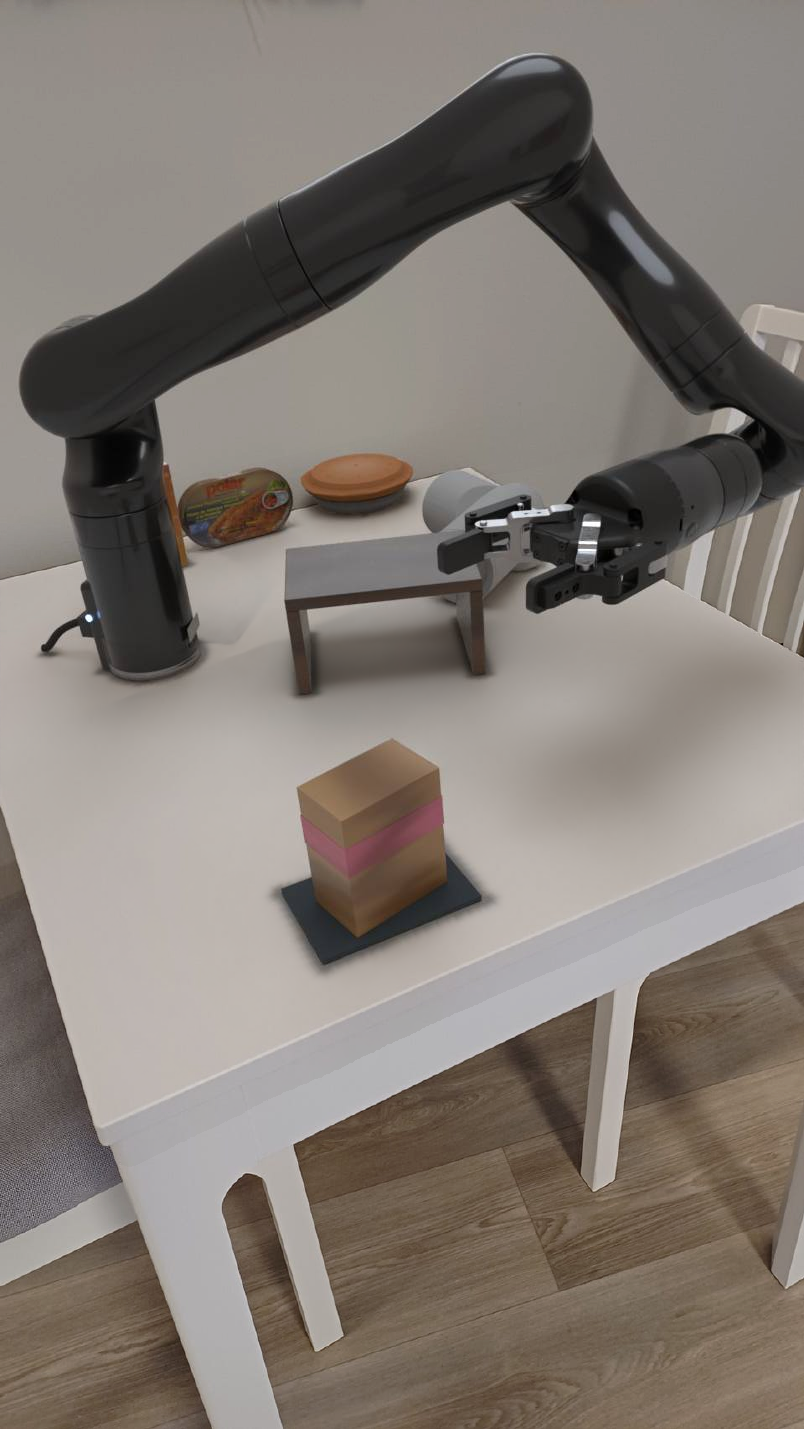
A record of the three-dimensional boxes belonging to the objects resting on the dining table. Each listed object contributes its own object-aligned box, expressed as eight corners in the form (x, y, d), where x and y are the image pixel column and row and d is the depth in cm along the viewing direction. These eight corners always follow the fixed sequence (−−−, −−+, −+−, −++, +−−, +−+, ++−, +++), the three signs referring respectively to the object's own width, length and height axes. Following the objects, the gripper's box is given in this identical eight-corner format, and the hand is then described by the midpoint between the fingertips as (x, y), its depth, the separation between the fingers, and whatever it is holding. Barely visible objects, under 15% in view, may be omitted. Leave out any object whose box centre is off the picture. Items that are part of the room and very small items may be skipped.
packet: (357, 939, 66) (340, 822, 61) (314, 900, 70) (295, 786, 64) (448, 881, 70) (440, 767, 65) (403, 848, 74) (392, 737, 68)
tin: (188, 555, 126) (175, 491, 121) (181, 547, 128) (168, 484, 124) (298, 526, 131) (289, 464, 127) (289, 519, 134) (280, 458, 129)
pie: (372, 473, 147) (369, 439, 144) (437, 498, 136) (435, 462, 133) (283, 501, 140) (278, 467, 137) (344, 530, 129) (340, 493, 126)
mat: (323, 964, 65) (322, 960, 65) (281, 892, 71) (280, 888, 71) (482, 899, 69) (481, 895, 69) (429, 836, 75) (429, 832, 75)
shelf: (486, 674, 95) (482, 578, 90) (299, 695, 95) (284, 600, 89) (468, 618, 105) (464, 529, 100) (299, 636, 105) (285, 548, 99)
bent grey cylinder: (598, 561, 111) (493, 512, 126) (584, 477, 105) (475, 436, 120) (473, 639, 107) (379, 579, 121) (451, 556, 100) (354, 503, 115)
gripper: (574, 439, 76) (410, 498, 67) (734, 481, 66) (564, 555, 58) (572, 532, 80) (417, 597, 71) (722, 584, 70) (562, 667, 62)
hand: (483, 578), depth 65 cm, fingers open, 8 cm apart
